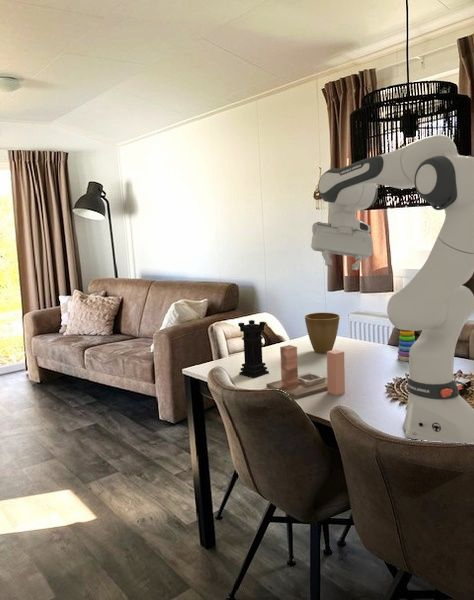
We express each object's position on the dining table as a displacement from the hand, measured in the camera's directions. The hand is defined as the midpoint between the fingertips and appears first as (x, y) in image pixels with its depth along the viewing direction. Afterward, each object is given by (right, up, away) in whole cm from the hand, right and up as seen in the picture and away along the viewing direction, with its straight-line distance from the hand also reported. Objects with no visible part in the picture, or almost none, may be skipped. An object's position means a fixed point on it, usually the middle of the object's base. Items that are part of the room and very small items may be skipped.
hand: (342, 267), depth 163 cm
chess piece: (-26, -39, +36) cm, 59 cm away
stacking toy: (+35, -34, +46) cm, 67 cm away
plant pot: (+4, -33, +63) cm, 72 cm away
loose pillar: (0, -41, +11) cm, 42 cm away
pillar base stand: (-10, -40, +19) cm, 45 cm away
